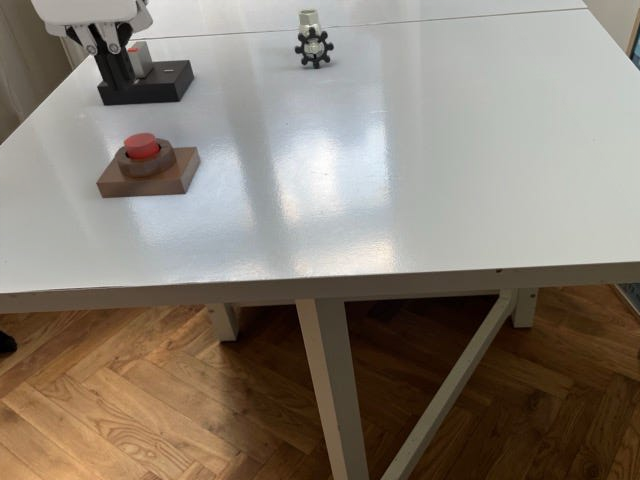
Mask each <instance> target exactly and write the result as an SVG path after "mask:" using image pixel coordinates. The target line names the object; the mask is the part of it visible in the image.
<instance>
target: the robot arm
mask: <svg viewBox="0 0 640 480" xmlns="http://www.w3.org/2000/svg"><path fill="white" fill-rule="evenodd" d="M149 1H150V0H30V2H31V4H32V6H33V8H34V10H35V12H36V13H37V15H38V17H39V18H40V19H41V20H42V21H43V22H44V27H45V31H46V32H47V34H49V35H51V36H54V37H61V38H67V39H68V38H70V39H71V40H72V41H74V42H75V43H77V44H78V45H79V46H80V47H82V48H83V49H84V50H85V52H86V54H88V55H90V56H92V57H93V58H94V62H95V63H96V66H97V68H98V71H99V74H100V76H101V78H102V81H104V82H106V83H107V84H108V87H109V90H110V92H111V93H117V92H118V91H120V92H127V91H128V89H129V88H130V87H131V86H132V85H133V83H134V79H135V72H134V69H133V66H132V64H131V61H130V58H129V55H128V52H127V50H128V49H127V45H128V44H129V41H130V39H131V38H132V36H133V35H134V34H138V33H140V32H142V31H145V30H148V29H149V28H150V27H151V26H152V25H153V23H154V19H153V17H152V15H151V14H150V12H149V10H148V8H147V6H148V5H149V3H150V2H149ZM99 24H102V28H103V31H102V29H101V28H100V25H99ZM103 33H104V34H103Z"/></svg>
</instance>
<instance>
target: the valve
mask: <svg viewBox="0 0 640 480" xmlns="http://www.w3.org/2000/svg"><path fill="white" fill-rule="evenodd" d="M298 18H299V25H298V34H297V41H299V42H300V46H299V45H295V46H294V52H295V54H296V55H300V54H302V57H301V58H300V63H301V65H302V66H307V65H308V63H309V62H310V63H312V66H313V68H314V69H315V70H318V69H319V68H320V67H321V65H320V62H321V61H323V62H324V63H326V64H329V63H330V62H331V56H330V55H328V52H329V51H330V52H332V51H334V49H335V46H334V45H335V44H334V43H333V42H331V41H330V42H328V43H327V41H326V39H328V37H329V33H328V31H326V30H323V29H322V25H321V23H320V21H319V20H320V19H319V12H318V10H317V9H315V8H304V9H301V10H299V11H298ZM322 44H323V47H322ZM322 50H323V52H322V53H321V55H319V56H318V55H317V53H319V52H321V51H322ZM309 54H312V56H313V57H311V56H309Z"/></svg>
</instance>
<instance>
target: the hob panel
mask: <svg viewBox="0 0 640 480" xmlns="http://www.w3.org/2000/svg"><path fill="white" fill-rule="evenodd" d="M152 62H153V65H154V67H153V68H152V70H151V71H150V72H149V74H148V75H147V76H146V77H145V78H135V79H134V83H133V85H132V86H131V87H130V88H129V89H128V91H127V92H120V91H118V92H117V93H111V92H110V90H109V87H108V84H107V83H106V82H104V81H103V80H101V82H100V83H98V85H97V86H96V89H97V91H98V94H99V96H100V99H101V102H102V104H103V106H117V105H119V106H120V105H137V104H138V105H139V104H140V105H141V104H156V103H157V104H158V103H176V102H180V101H181V100H182V99H183V97H184V95H185V93H186V92H187V90H188V89H189V87H190V85H191V84H192V82H193V81H194V79H195V74H194V70H193V68H192V64H191V60H190V59H181V60H180V59H179V60H159V61H153V60H152Z"/></svg>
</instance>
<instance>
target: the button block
mask: <svg viewBox="0 0 640 480" xmlns="http://www.w3.org/2000/svg"><path fill="white" fill-rule="evenodd" d="M155 138H156V141H157V143H158V146H159V152H158V153H157V154H155V155H153V156H151V157H148V158H144V159H130V158H129V156H128V153H127V151H126V148H125V146H124V145H123V146H121V147H120V148H118V150H117V151H116V152H115V154H114V155H113V156H114V157H113V158H112V159H111V161H110V162H109V164H108V165H107V166H106V168H105V169H104V171H103V172H102V173H101V174H100V176H99V178H98V179H97V181H96V182H95V185H96V187H97V189H98V191H99V193H100V196H101V198H102V199H115V198H116V199H118V198H135V197H137V198H139V197H154V196H155V197H158V196H179V195H187V192H188V190H189V188H190V186H191V184H192V181H193V179H194V177H195V176H196V173H197V171H198V169H199V166H200V164H201V161H202V160H201V158H200V154H199V150H198V147H197V146H184V147H173V145H172V144H171V142H170V140H168V139H164V138H160V137H155Z"/></svg>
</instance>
